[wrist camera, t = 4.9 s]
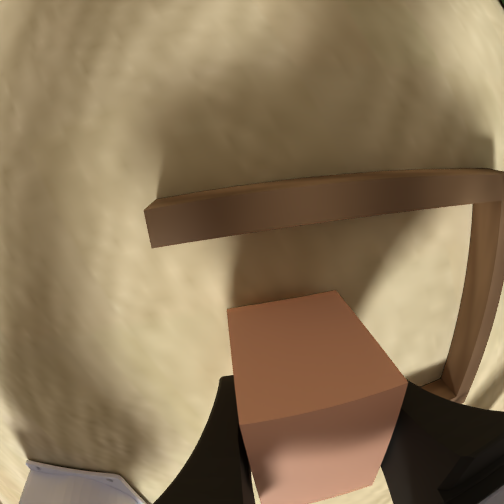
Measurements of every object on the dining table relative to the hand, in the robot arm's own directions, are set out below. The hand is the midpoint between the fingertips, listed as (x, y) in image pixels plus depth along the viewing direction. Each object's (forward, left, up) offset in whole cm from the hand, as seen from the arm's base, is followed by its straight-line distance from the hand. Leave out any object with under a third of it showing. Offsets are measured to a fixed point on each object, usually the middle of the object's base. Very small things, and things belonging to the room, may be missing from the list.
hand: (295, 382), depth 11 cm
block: (0, 0, -1) cm, 1 cm away
